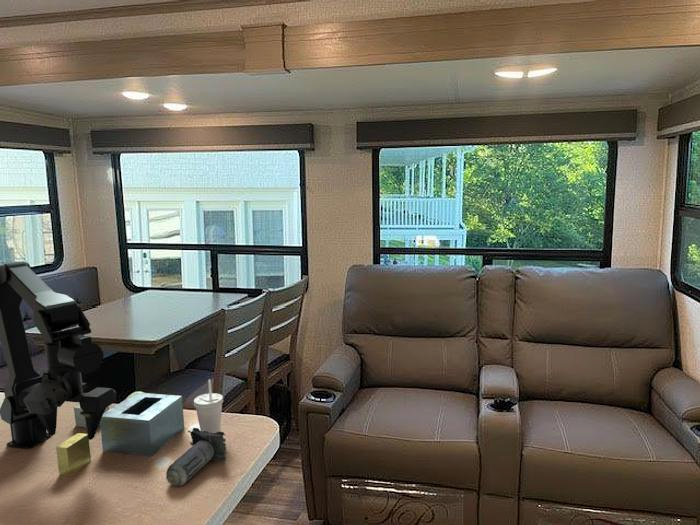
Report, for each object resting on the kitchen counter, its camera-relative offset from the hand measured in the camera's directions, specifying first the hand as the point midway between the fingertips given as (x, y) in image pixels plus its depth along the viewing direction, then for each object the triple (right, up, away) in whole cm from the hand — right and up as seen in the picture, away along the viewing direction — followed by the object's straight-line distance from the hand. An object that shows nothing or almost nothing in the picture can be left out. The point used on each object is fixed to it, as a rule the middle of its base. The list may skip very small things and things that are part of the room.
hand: (71, 437), depth 108 cm
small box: (-6, -4, +22) cm, 23 cm away
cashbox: (+10, -5, +12) cm, 17 cm away
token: (0, -7, +1) cm, 7 cm away
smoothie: (+25, -5, +11) cm, 28 cm away
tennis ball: (+4, -3, +24) cm, 25 cm away
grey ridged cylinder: (+25, -7, -2) cm, 26 cm away
